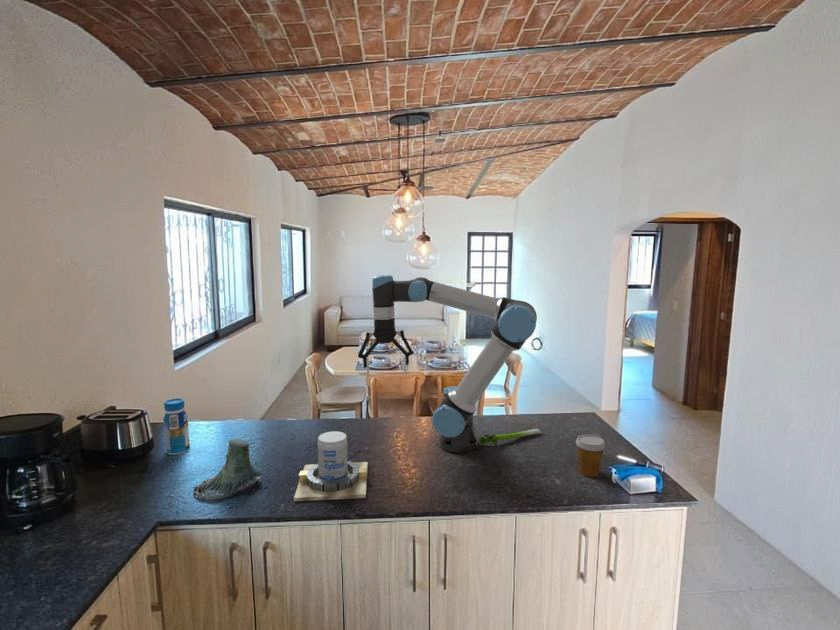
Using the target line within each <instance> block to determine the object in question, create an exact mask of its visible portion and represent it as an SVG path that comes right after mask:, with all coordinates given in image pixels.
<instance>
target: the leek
mask: <svg viewBox="0 0 840 630" xmlns="http://www.w3.org/2000/svg"><path fill="white" fill-rule="evenodd" d="M490 434H491V435H489V434H478V435H480V436H481V437H477V441H479V444H480V445H481V447H484V446H485V445H487V446H488V445H489V444H490V443H492V445H493V447H494V448H496V446H497V443H498V441H503V440H508V439H515V438H516V439H517V438H521V437H527V436H531V435H539V434H542V431H541V430H540V429H539V428H533V429H528V430H523V431H517V432H511V433H507V434H506V433H505V434H494V433H490Z"/></svg>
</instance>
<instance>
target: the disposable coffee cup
mask: <svg viewBox="0 0 840 630" xmlns="http://www.w3.org/2000/svg"><path fill="white" fill-rule="evenodd" d="M575 444H576V447H577V458H578V459H577V461H578V471H579V474H580V475H582V476H584V477H588V478H596V477H599V475H600V474H599V473H600V469H601V463H602V459H603V454H604V449H605V448H606V443H605V441H604V439H603V438H601V436H597V435H592V434H582V435H578V436H577V438H576V440H575Z"/></svg>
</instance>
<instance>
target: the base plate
mask: <svg viewBox="0 0 840 630" xmlns="http://www.w3.org/2000/svg"><path fill="white" fill-rule="evenodd" d="M354 463H355V464H356V465H357V466H358V467H359V468H366V473H367V475H366V479H361V480H358V482H357V483H356V484H354V485H353V486H352V487H351V486H350V488H347V489H344V490H341V491H338V490H337V492H324V491H323V492H321V491H317V490H313V489H311V488H310V487H309V485H308V484H307V482H299V481H298V483H297V484H298V485H297V488H296V491H295V493H294V496H293V502H309V501H326V500H327V501H329V500H333V501H334V500H346V499H347V500H349V499H366V497H367V485H368V484H367V483H368V481H367V480H368V464H369V462H368V461H361V462H359V461H358V462H354ZM316 464H317V463H315V464H314V463H313V464H305V465H304V467H303V470H302V471H308V470H309V469H310V468H311V467H313V466H314V465H316ZM351 474H352V473H350V472H349V471H348V476H350V475H351ZM348 476H347V477H348ZM315 478H316V479H318V480H319V474H318V475H316V476H315Z"/></svg>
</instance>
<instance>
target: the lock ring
mask: <svg viewBox="0 0 840 630" xmlns="http://www.w3.org/2000/svg"><path fill="white" fill-rule="evenodd" d="M347 461H348V471H349V472H350V473H352V474H351V475H350V476H348V477H347V478H345V479H341V480H338V481H322V480H318V479H316V478H315V476H316V475H318V474H319V472H318V462H317V463H315V464H316V465H314V466H313V467H311V468H310V469H309V470H308V471H303V470H300V472H299V474H298V477H299V478H298V480H299V481H298V483H299V482H307V484H308V485H309V487H310V488H311V489H313V490H317V491H321V492H323V491H324V492H337V490H338V491H341V490H344V489H347V488H350V486H351V487H352V486H353V485H354V484H356V483H357V482H358V480H361V479H366V475H367V476H368V472H367V473H366V468H359V467H358V466H357V465H356V464H355V463H356V462H353V461H349V460H347Z"/></svg>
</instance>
